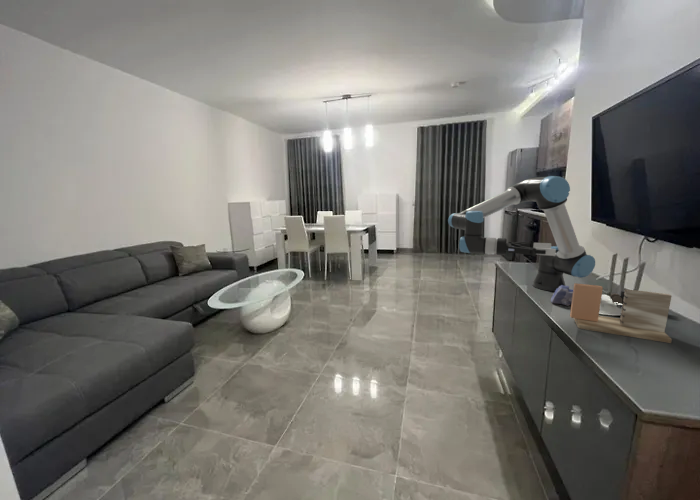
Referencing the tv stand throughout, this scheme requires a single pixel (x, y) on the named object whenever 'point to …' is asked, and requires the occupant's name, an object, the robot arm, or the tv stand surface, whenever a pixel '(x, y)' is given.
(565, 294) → the mineral
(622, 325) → the stand
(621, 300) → the figurine character
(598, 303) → the orange rectangular panel
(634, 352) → the tv stand surface
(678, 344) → the tv stand surface
